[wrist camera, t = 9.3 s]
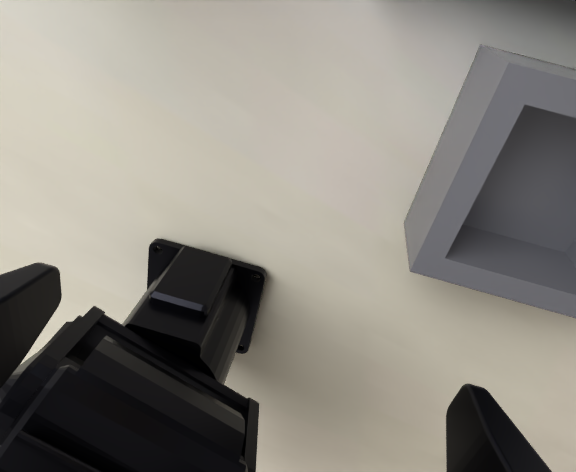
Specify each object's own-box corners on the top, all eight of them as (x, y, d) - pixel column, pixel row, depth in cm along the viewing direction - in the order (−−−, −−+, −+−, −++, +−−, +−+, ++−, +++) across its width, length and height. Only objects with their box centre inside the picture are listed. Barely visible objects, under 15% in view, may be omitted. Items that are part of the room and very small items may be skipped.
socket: (569, 268, 20) (608, 327, 17) (403, 222, 20) (409, 271, 17) (692, 99, 16) (779, 133, 12) (480, 44, 16) (508, 62, 13)
